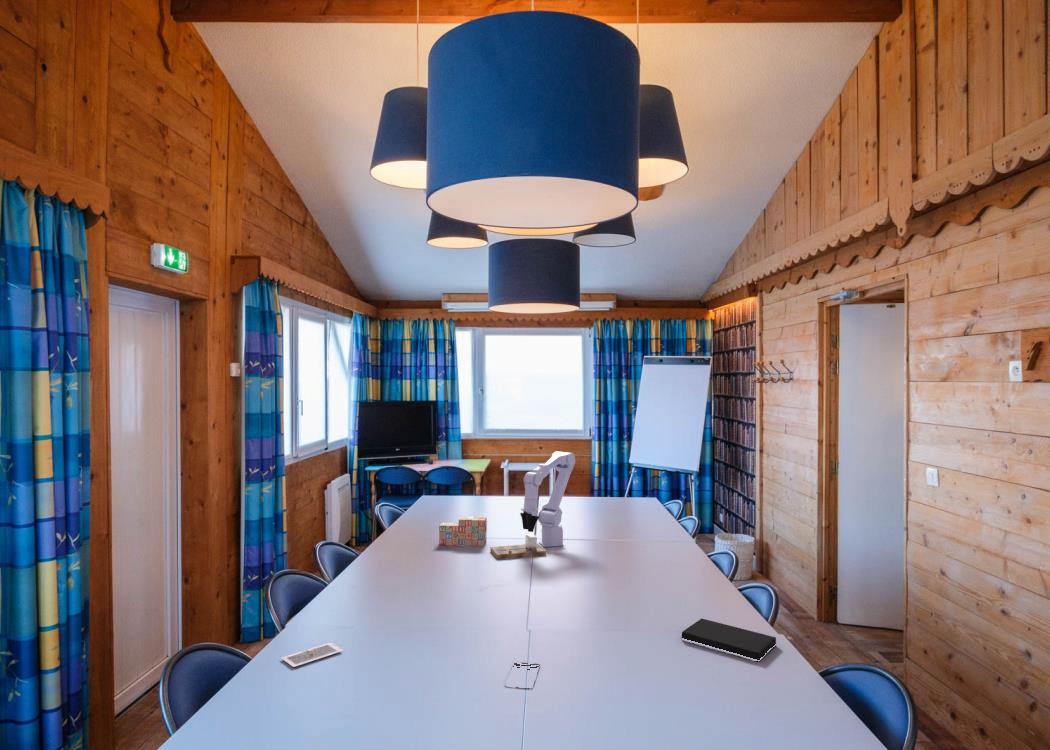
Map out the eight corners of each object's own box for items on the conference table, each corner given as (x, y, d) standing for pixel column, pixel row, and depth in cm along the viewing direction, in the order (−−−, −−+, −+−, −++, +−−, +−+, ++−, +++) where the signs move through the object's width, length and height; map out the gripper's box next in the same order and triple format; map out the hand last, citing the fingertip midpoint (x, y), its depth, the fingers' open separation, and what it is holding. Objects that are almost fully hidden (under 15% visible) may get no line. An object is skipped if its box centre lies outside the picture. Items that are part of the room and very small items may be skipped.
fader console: (537, 547, 299) (537, 540, 299) (546, 555, 287) (546, 548, 287) (490, 551, 292) (490, 544, 292) (497, 559, 281) (497, 551, 281)
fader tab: (534, 545, 294) (534, 534, 294) (536, 548, 290) (536, 537, 290) (525, 546, 293) (525, 535, 293) (528, 549, 289) (528, 537, 289)
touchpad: (343, 654, 189) (343, 646, 189) (293, 671, 178) (293, 663, 178) (330, 645, 194) (330, 638, 194) (280, 661, 184) (280, 654, 184)
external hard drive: (758, 663, 183) (758, 653, 183) (681, 641, 197) (681, 631, 197) (775, 647, 194) (776, 637, 194) (701, 627, 208) (701, 618, 208)
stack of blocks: (438, 545, 303) (438, 518, 303) (441, 541, 309) (441, 515, 309) (484, 546, 301) (484, 519, 301) (486, 543, 307) (486, 516, 307)
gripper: (517, 497, 299) (514, 527, 297) (526, 500, 285) (523, 532, 283) (532, 498, 300) (529, 528, 299) (542, 501, 287) (539, 533, 285)
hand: (528, 530), depth 291 cm, fingers open, 7 cm apart
